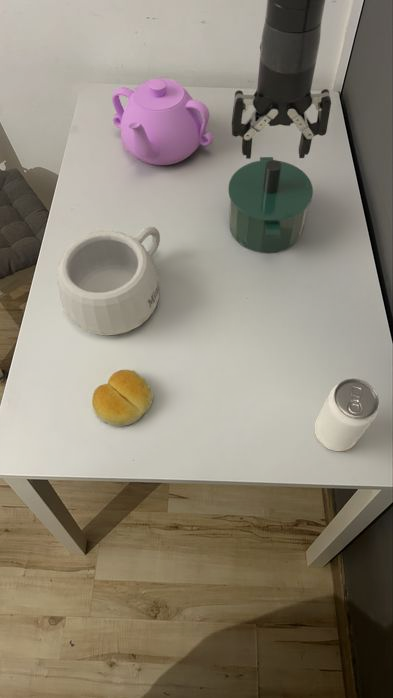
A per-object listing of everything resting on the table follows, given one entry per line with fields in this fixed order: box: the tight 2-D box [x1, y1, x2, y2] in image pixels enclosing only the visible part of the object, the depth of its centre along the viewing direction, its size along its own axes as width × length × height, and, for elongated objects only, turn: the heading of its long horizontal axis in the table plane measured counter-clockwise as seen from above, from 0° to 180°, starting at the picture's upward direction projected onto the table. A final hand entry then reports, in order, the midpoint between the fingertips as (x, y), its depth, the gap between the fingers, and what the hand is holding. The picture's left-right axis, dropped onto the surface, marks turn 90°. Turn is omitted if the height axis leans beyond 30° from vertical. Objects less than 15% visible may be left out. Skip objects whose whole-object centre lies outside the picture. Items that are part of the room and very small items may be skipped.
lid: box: [227, 159, 314, 222], centre depth 85 cm, size 15×15×6 cm
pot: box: [229, 156, 309, 254], centre depth 91 cm, size 14×19×8 cm
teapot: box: [111, 78, 214, 166], centre depth 99 cm, size 22×22×14 cm
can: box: [314, 378, 380, 452], centre depth 69 cm, size 6×6×12 cm
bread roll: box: [91, 369, 154, 427], centre depth 76 cm, size 8×9×4 cm
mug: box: [56, 226, 161, 336], centre depth 83 cm, size 21×17×10 cm
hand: (274, 155), depth 81 cm, fingers open, 8 cm apart
